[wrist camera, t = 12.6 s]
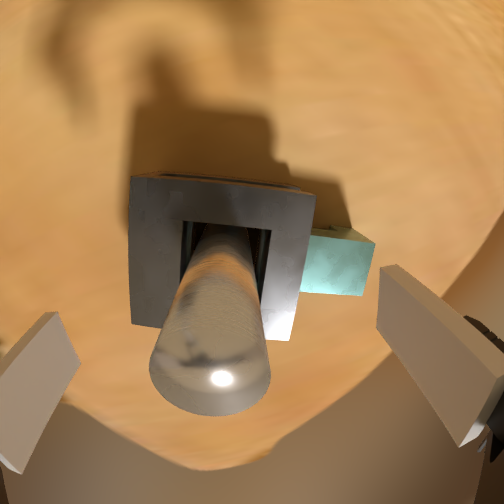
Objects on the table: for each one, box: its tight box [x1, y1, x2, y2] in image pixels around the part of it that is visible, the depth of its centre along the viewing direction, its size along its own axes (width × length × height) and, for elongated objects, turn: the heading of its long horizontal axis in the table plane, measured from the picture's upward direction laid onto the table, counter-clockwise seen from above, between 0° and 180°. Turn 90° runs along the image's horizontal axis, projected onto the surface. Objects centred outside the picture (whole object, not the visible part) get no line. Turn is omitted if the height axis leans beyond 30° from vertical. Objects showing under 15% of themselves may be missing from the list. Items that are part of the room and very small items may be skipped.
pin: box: [149, 223, 271, 416], centre depth 16 cm, size 4×4×16 cm
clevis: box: [128, 171, 375, 340], centre depth 20 cm, size 10×16×6 cm, turn 83°
